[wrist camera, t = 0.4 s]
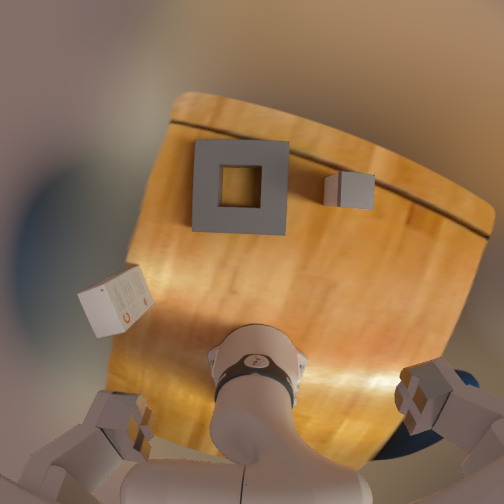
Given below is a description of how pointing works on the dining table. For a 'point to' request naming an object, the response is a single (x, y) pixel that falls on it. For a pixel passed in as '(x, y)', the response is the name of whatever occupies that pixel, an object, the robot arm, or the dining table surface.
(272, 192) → the socket block
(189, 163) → the dining table surface
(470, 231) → the dining table surface
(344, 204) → the plug
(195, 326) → the dining table surface
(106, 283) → the small box
